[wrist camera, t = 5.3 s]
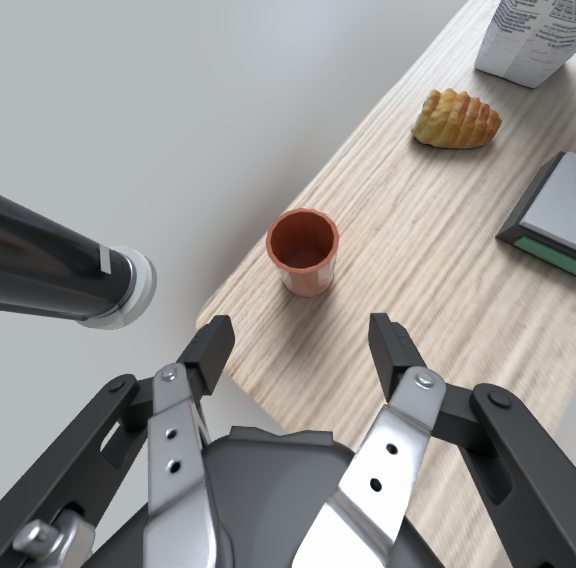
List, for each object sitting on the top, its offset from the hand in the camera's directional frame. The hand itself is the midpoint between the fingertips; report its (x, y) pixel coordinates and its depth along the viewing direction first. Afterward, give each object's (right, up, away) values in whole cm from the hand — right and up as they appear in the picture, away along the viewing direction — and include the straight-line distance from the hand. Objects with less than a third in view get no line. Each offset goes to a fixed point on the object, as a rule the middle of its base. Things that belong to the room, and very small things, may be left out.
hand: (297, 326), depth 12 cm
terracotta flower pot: (+2, +4, +13) cm, 14 cm away
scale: (+29, +9, +11) cm, 32 cm away
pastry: (+20, +23, +16) cm, 34 cm away
